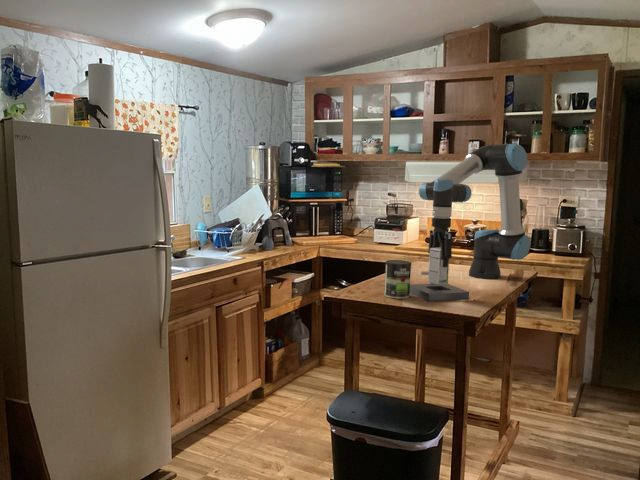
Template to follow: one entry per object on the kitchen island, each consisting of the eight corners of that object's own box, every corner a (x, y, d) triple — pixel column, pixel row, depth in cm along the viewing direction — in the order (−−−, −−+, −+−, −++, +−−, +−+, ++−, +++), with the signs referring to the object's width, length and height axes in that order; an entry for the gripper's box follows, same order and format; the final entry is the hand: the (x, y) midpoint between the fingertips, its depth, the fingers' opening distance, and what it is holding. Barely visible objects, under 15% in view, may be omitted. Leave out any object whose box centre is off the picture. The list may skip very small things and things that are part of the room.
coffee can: (414, 298, 220) (415, 263, 219) (390, 299, 217) (391, 264, 216) (403, 292, 230) (404, 259, 228) (380, 293, 227) (381, 260, 225)
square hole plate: (444, 289, 238) (445, 282, 237) (468, 299, 221) (469, 292, 220) (407, 291, 232) (408, 284, 232) (429, 301, 215) (429, 294, 215)
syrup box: (438, 285, 222) (440, 249, 220) (427, 282, 226) (429, 247, 224) (448, 283, 225) (450, 248, 223) (437, 280, 230) (439, 246, 228)
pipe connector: (443, 287, 242) (444, 265, 241) (420, 286, 244) (421, 263, 243) (443, 283, 252) (444, 261, 251) (421, 281, 254) (422, 260, 253)
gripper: (421, 215, 230) (418, 269, 233) (446, 219, 212) (443, 278, 215) (437, 215, 233) (434, 268, 236) (463, 219, 214) (459, 277, 217)
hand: (438, 273), depth 225 cm, fingers closed on syrup box, 7 cm apart
